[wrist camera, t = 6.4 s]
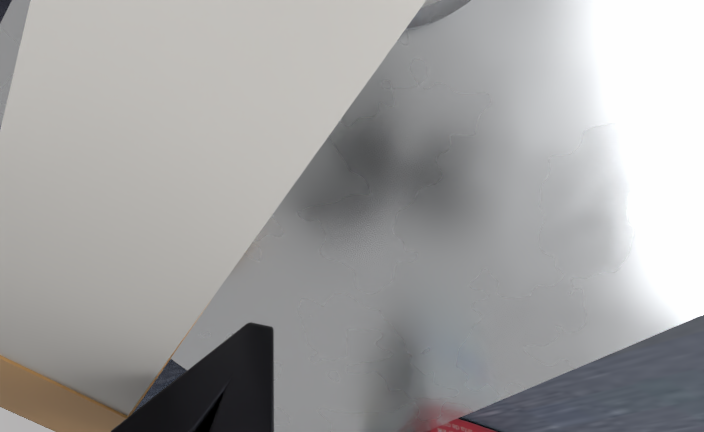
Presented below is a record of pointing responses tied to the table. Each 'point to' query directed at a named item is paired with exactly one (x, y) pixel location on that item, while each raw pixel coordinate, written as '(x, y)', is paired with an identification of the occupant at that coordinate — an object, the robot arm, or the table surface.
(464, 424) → the ink box
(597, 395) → the table surface
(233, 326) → the flange plate
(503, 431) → the table surface
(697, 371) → the table surface
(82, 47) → the white piece
